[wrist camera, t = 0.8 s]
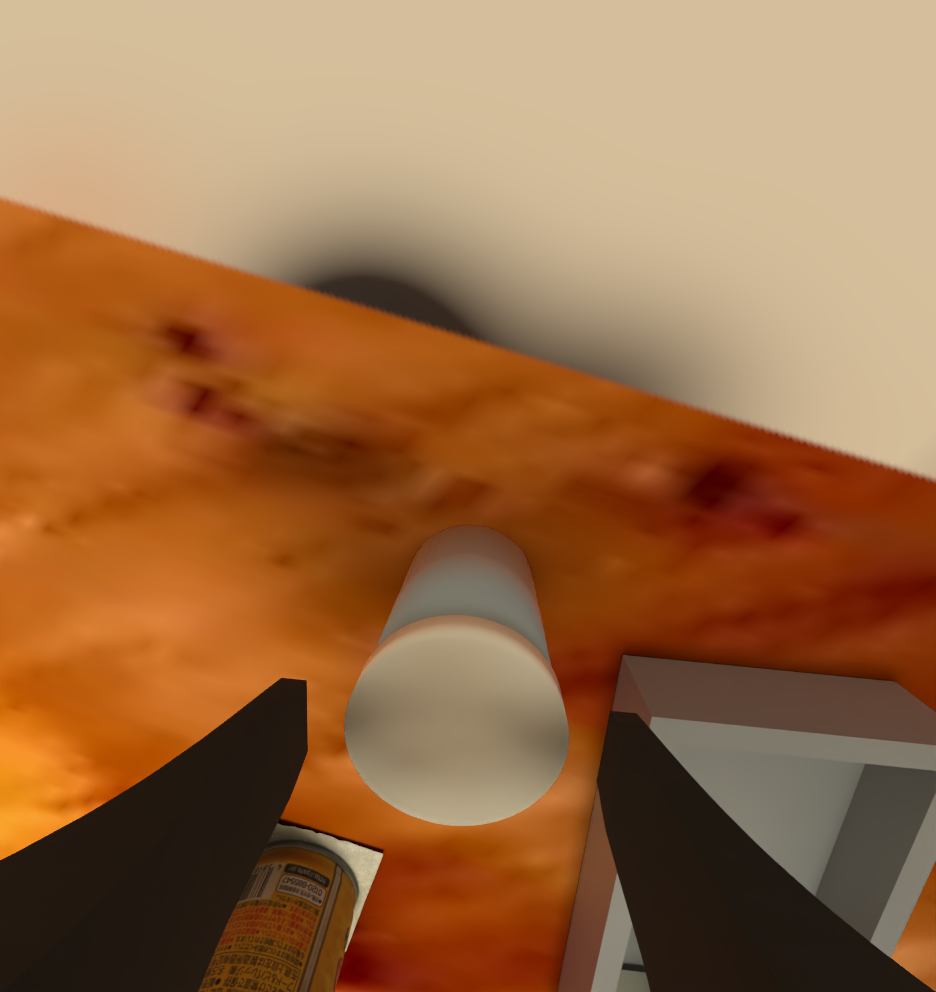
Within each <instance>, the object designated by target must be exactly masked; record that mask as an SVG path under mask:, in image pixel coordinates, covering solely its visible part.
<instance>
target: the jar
mask: <svg viewBox="0 0 936 992" xmlns="http://www.w3.org/2000/svg"><path fill="white" fill-rule="evenodd" d="M344 732H345V741H346V746H347V750H348V753H349V756H350V758H351V761H352V763H353V765H354V767H355V768H356V770H357V772H358V774H359V775H360V776H361V778H362V779H363V780H364V782H365V783H366V784H367V785H368V786H369V787H370V788H371V789H372V791H373V792H374V793H376V794H377V795H378V796H379V797H380V798H382V799H383V800H384V801H385V802H387V803H388V804H390V805H391V806H393V807H395V808H396V809H398V810H400V811H402V812H404V813H406V814H408V815H411V816H413V817H416V818H418V819H421V820H425V821H429V822H432V823H438V824H444V825H454V826H471V825H481V824H487V823H492V822H496V821H499V820H503V819H505V818H508V817H511V816H513V815H515V814H517V813H519V812H521V811H523V810H525V809H527V808H528V807H529V806H531V805H532V804H534V803H535V802H537V801H538V800H539V799H540V798H541V797H542V796H543V795H544V794H545V793H546V792H547V791H548V790H549V789H550V787H551V786H552V785H553V784H554V782H555V781H556V779H557V778H558V776H559V774H560V773H561V770H562V768H563V765H564V763H565V760H566V756H567V752H568V745H569V729H568V722H567V717H566V713H565V708H564V704H563V699H562V695H561V690H560V686H559V682H558V680H557V677H556V675H555V672H554V671H553V669H552V667H551V662H550V657H549V652H548V648H547V643H546V638H545V633H544V628H543V624H542V619H541V614H540V609H539V605H538V600H537V595H536V590H535V585H534V581H533V576H532V572H531V567H530V565H529V562H528V560H527V558H526V556H525V555H524V553H523V552H522V550H521V549H520V548H519V547H518V545H517V544H516V543H515V542H514V541H512V540H511V539H510V538H508V537H507V536H505V535H504V534H502V533H500V532H498V531H496V530H494V529H491V528H487V527H484V526H477V525H462V526H456V527H451V528H448V529H446V530H443V531H441V532H439V533H437V534H435V535H434V536H432V537H431V538H430V539H428V540H427V541H426V542H425V543H424V544H423V545H422V546H421V548H420V549H419V550H418V552H417V553H416V555H415V557H414V559H413V561H412V563H411V566H410V568H409V571H408V573H407V575H406V578H405V580H404V582H403V585H402V587H401V590H400V592H399V594H398V597H397V599H396V601H395V604H394V606H393V609H392V611H391V613H390V616H389V618H388V620H387V623H386V625H385V628H384V630H383V632H382V635H381V637H380V639H379V642H378V644H377V647H376V649H375V650H374V651H373V652H372V654H371V655H370V657H369V658H368V660H367V661H366V663H365V665H364V667H363V670H362V672H361V674H360V676H359V679H358V681H357V683H356V686H355V688H354V690H353V693H352V695H351V697H350V700H349V702H348V705H347V709H346V713H345V722H344Z"/></svg>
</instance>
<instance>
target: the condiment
mask: <svg viewBox="0 0 936 992" xmlns="http://www.w3.org/2000/svg"><path fill="white" fill-rule="evenodd" d="M272 835H273V836H274V837H272V836H271V837H270V839H269V841H268V843H267V845H266V847H265V849H264V851H263V853H262V855H261V857H260V859H259V861H258V863H257V865H256V867H255V869H254V871H253V873H252V875H251V877H250V879H249V881H248V883H247V885H246V887H245V889H244V891H243V893H242V895H241V897H240V898H239V900H238V902H237V904H236V906H235V908H234V910H233V912H232V915H231V917H230V919H229V921H228V923H227V925H226V928H225V930H224V932H223V934H222V936H221V938H220V941H219V943H218V945H217V948H216V950H215V953H214V955H213V957H212V960H211V962H210V965H209V967H208V969H207V972H206V974H205V977H204V979H203V982H202V984H201V986H200V989H199V991H198V992H335V988H336V984H337V981H338V977H339V974H340V969H341V965H342V961H343V957H344V953H345V952H346V950H347V947H348V945H349V942H350V939H351V937H352V934H353V932H354V929H355V926H356V923H357V921H358V918H359V916H360V913H361V910H362V908H363V905H364V902H365V900H366V897H367V895H368V892H369V890H370V887H371V884H372V882H373V880H374V877H375V875H376V872H377V870H378V867H379V864H380V862H381V859H382V856H383V854H382V853H379V852H375V851H372V850H370V849H367V848H364V847H361V846H358V845H356V844H353V843H350V842H347V841H340V840H337V839H336V838H334V837H331V836H328V835H325V834H322V833H315V832H314V831H311V830H305V829H300V828H297V827H295V826H284V825H280V824H278V823H277V825H276V827H275V829H274V831H273V833H272Z"/></svg>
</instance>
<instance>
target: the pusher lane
mask: <svg viewBox="0 0 936 992" xmlns="http://www.w3.org/2000/svg"><path fill="white" fill-rule="evenodd" d="M612 711H619V712H629V713H637V714H638V715H639V716H640V718H641V719H642V720H643V721H644V722H645V723H646V724H647V726H648V727H649V728H650V729H651V730H652V731H653V732H654V734H655V735H656V736H657V737H658V738H659V739H660V741H661V742H662V743H663V744H664V745H665V746H666V748H667V749H668V750H669V751H670V752H671V753H672V754H673V756H674V757H675V758H676V759H677V760H678V761H679V762H680V764H681V765H682V766H683V767H684V768H685V769H686V770H687V771H688V773H689V774H690V775H691V776H692V777H693V778H694V779H695V780H696V781H697V782H698V784H699V785H700V786H701V787H702V788H703V789H704V790H705V791H706V792H707V793H708V794H709V795H710V796H711V798H712V799H713V800H714V801H715V802H716V803H717V804H718V805H719V806H720V807H721V808H722V809H723V810H724V811H725V812H726V813H727V814H728V815H729V816H730V817H731V818H732V819H733V820H734V821H735V822H736V823H737V824H738V825H739V826H740V827H741V828H742V829H743V830H744V831H745V832H746V833H747V834H748V835H749V836H750V837H751V838H752V839H753V840H754V841H755V842H756V843H757V844H758V845H759V846H760V847H761V848H762V849H763V850H764V851H765V852H766V853H767V854H768V855H770V856H771V857H772V858H773V859H774V860H775V861H776V862H777V863H778V864H779V865H780V866H782V867H783V868H784V869H785V870H786V871H787V872H788V873H789V874H790V875H792V876H793V877H794V878H795V879H796V880H797V881H798V882H799V883H800V884H802V885H803V886H804V887H805V888H806V889H807V890H808V891H809V892H811V893H812V894H813V895H814V896H815V897H816V898H818V899H819V900H820V901H821V902H822V903H823V904H825V905H826V906H827V907H828V908H829V909H830V910H832V911H833V912H834V913H835V914H836V915H838V916H839V917H840V918H841V919H843V920H844V921H845V922H846V923H848V924H849V925H850V926H851V927H852V928H854V929H855V930H856V931H857V932H859V933H860V934H861V935H862V936H864V937H865V938H866V939H867V940H869V941H870V942H871V943H872V944H873V945H875V946H876V947H877V948H878V949H880V950H881V951H882V952H883V953H885V954H886V955H887V956H889V957H890V958H891V956H892V954H893V952H894V950H895V947H896V945H897V943H898V941H899V939H900V937H901V934H902V932H903V930H904V928H905V926H906V924H907V921H908V919H909V917H910V915H911V913H912V911H913V909H914V906H915V904H916V902H917V900H918V898H919V896H920V893H921V891H922V889H923V887H924V885H925V883H926V880H927V878H928V876H929V874H930V872H931V870H932V867H933V865H934V863H935V861H936V712H935V711H933V710H932V709H931V708H929V707H928V706H927V705H926V704H924V703H923V702H922V701H920V700H919V699H918V698H916V697H915V696H914V695H912V694H911V693H910V692H908V691H907V690H906V689H904V688H903V687H902V686H900V685H899V684H898V683H896V682H894V681H884V680H874V679H864V678H854V677H843V676H833V675H823V674H813V673H803V672H793V671H782V670H772V669H762V668H752V667H742V666H731V665H721V664H711V663H701V662H691V661H680V660H670V659H660V658H650V657H640V656H629V655H623V656H622V661H621V666H620V671H619V676H618V681H617V687H616V692H615V697H614V702H613V707H612ZM621 970H629V971H637V972H645V968H644V964H643V960H642V956H641V953H640V949H639V946H638V943H637V939H636V936H635V932H634V929H633V925H632V922H631V918H630V915H629V911H628V908H627V904H626V901H625V897H624V894H623V891H622V887H621V884H620V880H619V877H618V873H617V870H616V866H615V863H614V859H613V856H612V852H611V848H610V845H609V841H608V838H607V834H606V830H605V825H604V820H603V814H602V809H601V803H600V797H599V791H598V785H597V790H596V795H595V800H594V805H593V810H592V816H591V821H590V826H589V831H588V836H587V841H586V847H585V852H584V857H583V862H582V867H581V872H580V878H579V883H578V888H577V893H576V898H575V903H574V909H573V914H572V919H571V924H570V929H569V934H568V940H567V945H566V950H565V955H564V960H563V965H562V970H561V976H560V981H559V986H558V991H557V992H616V989H617V984H618V980H619V976H620V972H621Z"/></svg>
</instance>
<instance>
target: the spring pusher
mask: <svg viewBox="0 0 936 992" xmlns="http://www.w3.org/2000/svg"><path fill="white" fill-rule="evenodd" d="M616 992H650V988H649V984H648V980H647V976H646V972H637V971H629V970H621V972H620V976H619V980H618V984H617V989H616Z"/></svg>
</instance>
